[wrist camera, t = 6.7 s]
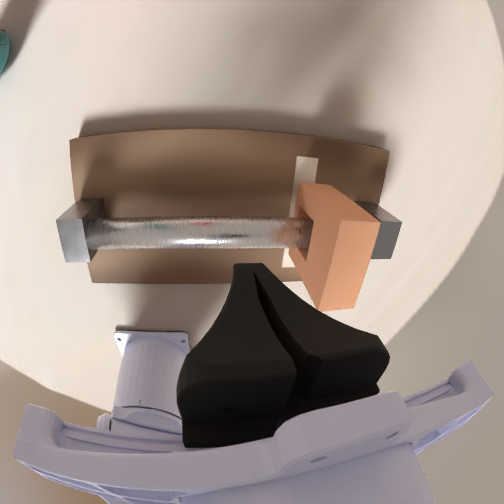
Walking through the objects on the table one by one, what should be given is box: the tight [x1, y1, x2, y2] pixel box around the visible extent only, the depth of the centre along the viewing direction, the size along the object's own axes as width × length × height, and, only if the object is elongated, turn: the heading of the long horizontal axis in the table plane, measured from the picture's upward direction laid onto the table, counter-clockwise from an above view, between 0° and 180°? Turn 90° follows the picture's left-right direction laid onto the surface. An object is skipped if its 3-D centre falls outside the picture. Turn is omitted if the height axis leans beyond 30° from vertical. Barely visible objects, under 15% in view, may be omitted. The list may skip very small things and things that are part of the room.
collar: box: [288, 182, 381, 311], centre depth 17 cm, size 6×2×7 cm, turn 176°
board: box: [69, 128, 389, 284], centre depth 20 cm, size 12×24×2 cm, turn 86°
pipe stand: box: [56, 197, 402, 262], centre depth 18 cm, size 3×23×4 cm, turn 86°
